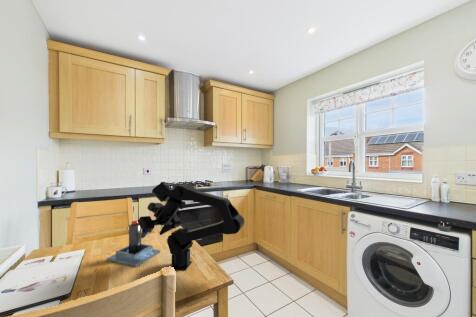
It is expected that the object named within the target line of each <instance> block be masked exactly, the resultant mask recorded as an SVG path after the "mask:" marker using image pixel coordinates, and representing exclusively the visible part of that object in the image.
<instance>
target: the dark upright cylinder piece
mask: <svg viewBox="0 0 476 317" xmlns="http://www.w3.org/2000/svg"><path fill="white" fill-rule="evenodd" d="M141 233H142V229H141V227H140V225H139V223H138V220H133V221H131V223H130V224H129V225H128V246H129V251H128V253H133V254H135V253H137V252H139V251H141V250H142V249H141V244H142V238H141Z"/></svg>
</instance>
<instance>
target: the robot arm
mask: <svg viewBox="0 0 476 317" xmlns="http://www.w3.org/2000/svg"><path fill="white" fill-rule="evenodd" d="M151 193H152V194H153V196H155V198H157V200H159V201H160V202H150V203H149V204H148V205H147V206H146V208H147V210H148V211H149V212H152V213H153V216H154V217H155V219H152V217H151V216H150V215H145V216H139V218H138V219H137V221H138V223H139V225H140V227H141V239H144V238H145V237H147V236H148V235H149V234H151V233H152V232H153V231H154V228H155V226H156V227H157V226H161V227H162V228H161V229H160V230H159V232H158V233H159V236H161V235H164V234H166V233H167V232H170V231H172V230H174V229H176V228H178V229H176V230H174V231H172V232H171V233H170V235H168V236H167V239H166V243H167V245H168V246H167V247H168V249H169V250H168V251H169V252H170V255H171V266H172V267H174V268H175V269H174V270H182V271H186V270H187V269H188V268H189V267H190V265H191V264H192V263H193V262H192V260H191V248H192V247H193V244H194V241H196V240H200V239H204V238H208V237H211V236H215V235H221V234H222V235H236V234H237V233H239V231H241V230H242V228H243V227H244V225H245V219H244V217H243V215H241V214H240V213H239V210H237V208H236V207H235V206H234V204H232V203H231V201H230V200H229V198H227V197H222V196H218V195H214V194H211V193H207V192H205V191H204V192H203V191H201V190H198V189H197V188H195V187H194V186H192V185H190V184H186V183H185V184H180V185H176V186H174V188H171V187H170V186H169V185H168V184H167V182H165V181H161V182H160V183H159V184H157V185H156V186H155V187H153V189H152V190H151ZM186 201H188V202H189V201H190V202H191V201H192V202H196V203H199V204H202V205H206V206H209V207H213V208H216V209H218V210H219V213H220V217H221V219H222V220H221V221H220V222H216V223H211V224H209V225H204V226H201V227H197V228H194V229H188V226H185V227H182V228H181V227H180V226H181V224H182V220H181V218H180V217H179V216H178V214H177V212H178V210H179V209H180V210H182V209H185V208H187V204H186ZM163 202H165V204H163Z"/></svg>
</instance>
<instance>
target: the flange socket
mask: <svg viewBox="0 0 476 317" xmlns="http://www.w3.org/2000/svg"><path fill="white" fill-rule="evenodd" d="M141 249H142V250H141V251H139V252H137V253H135V254H133V253H128V251H129V245H127V246H124V247H123V248H120V249H118V250H115V254H113V255H110V256H109V257H107V258H106V261H108V262H113V263H117V264H121V265H124V266H125V265H127V266H130V267H136V268H137V267H139V266H140V265H141V264H143V263H145V262H147V261H149V260H150V259H152V258H154V257H156V256H157V255H158V254H160V253H161V250H160V249H155V248H153V245H150V244H144V243H141Z"/></svg>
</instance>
